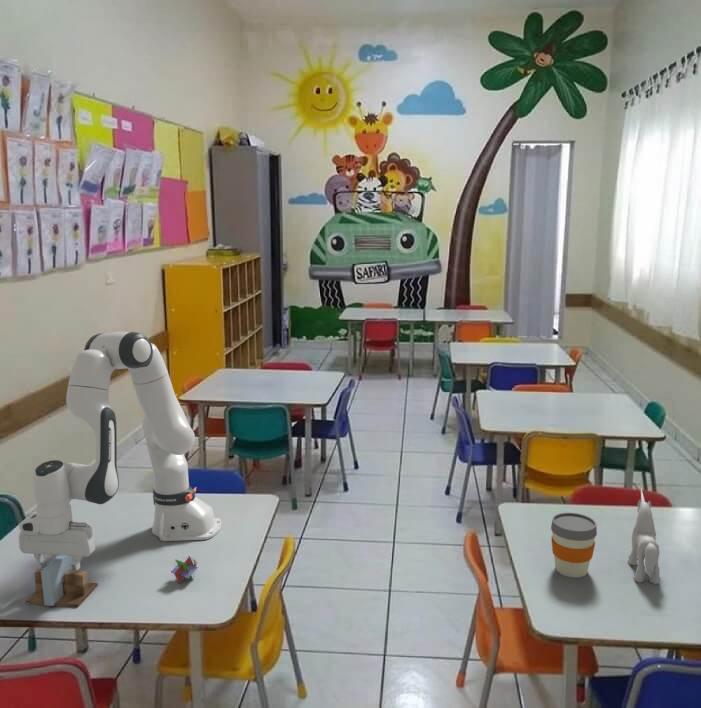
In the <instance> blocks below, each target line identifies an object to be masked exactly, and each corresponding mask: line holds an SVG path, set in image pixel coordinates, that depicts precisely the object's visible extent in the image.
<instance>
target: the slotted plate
mask: <svg viewBox="0 0 701 708" xmlns="http://www.w3.org/2000/svg"><path fill="white" fill-rule="evenodd" d="M76 560H77V559H75V558H74V556H63V555H56V557H55V558H53V559H52V560H51V561H50V562H49V563H48V565H47V566H46V567H45V568H42V569H43V570H41V578H42V587H43V596H44V604H45V605H44V606H45V607H46V606H49V607H51V606H52V607H53V606H54V605H55V603H56V602H57V601H58V600H59V599H60V598H61V597H62V596H63V595H64V594H63V584H62V583H63V582H64V581H65V579H64V574H65V573H66V572H67V571H68V570H72V564H73V563H74V562H75V561H76ZM74 571H80V569H78V570H74Z"/></svg>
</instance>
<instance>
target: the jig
mask: <svg viewBox="0 0 701 708" xmlns="http://www.w3.org/2000/svg"><path fill="white" fill-rule="evenodd" d="M43 569H44V568H39V567H38V568H37V569H36V570H35V571H34V572H33V575H34V585H35V591H34V592H33V593H32V594H31V595H30V596H29V597H28V598H27V599H26V600H25V604H26V603H29V604H28V605H37V606H38V605H41V606H46V605H45V604H44V596H43V587H42V578H41V570H43ZM87 573H88V572H87V570H79V571H74V570H68V571H67V572H66V573H65V574H64V579H65V581H64V582H63V583H62V584H63V594H64V595H63V596H62V597H61V598H60V599H59V600H58V601H57V602H56V603H55V605H54V606H56V607H70V608H79V607H80V606H81V605H82V604H83V602H84V601H85V600H87V598H88V597H89V596H90V595H91V594H92V593H93V592H94V590H95V589H96V588H97V587H98V585H99V584H98V582H92V581H88V574H87Z"/></svg>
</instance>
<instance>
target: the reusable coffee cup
mask: <svg viewBox="0 0 701 708" xmlns="http://www.w3.org/2000/svg"><path fill="white" fill-rule="evenodd" d="M550 529H551V533H552V535H551V537H550V539H551V550H552V555H553V557H554V567H555V568H554V569H555V570H556V571H557V573H559V574H560V575H562V576H565V577H568V578H583V577H585V576H587V574H588V571H589V566H590V562H591V560H592V559H593V556H594V551H595V546H596V539H595V538H596V537H597V535H598V534H597V533H598V532H597V522H596V521H595V520H594V519H593V518H591V517H590V516H588V515H585V514H582V513H577V512H561V513H556V514H555V515H554V516H553V517H552V519H551V525H550Z"/></svg>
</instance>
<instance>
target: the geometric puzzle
mask: <svg viewBox="0 0 701 708" xmlns="http://www.w3.org/2000/svg"><path fill="white" fill-rule="evenodd" d="M180 559H182V557H181V558H180ZM183 559H185V561H182V560H178V559H174V561H175V563H176V565H175V566H174V568H172V570H171V571H170V573H171V574H172V575H173V577H174V576H175V577H174V578H175V580H176V581H177V583H178V585H179V584H181V583H184V582H186V580H190V581H194V577H195V571H197V570H198V567H199V565H198V562H197V560H195V559H194V558H193V557H191V556H186V557H183ZM184 578H185V579H184Z"/></svg>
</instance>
